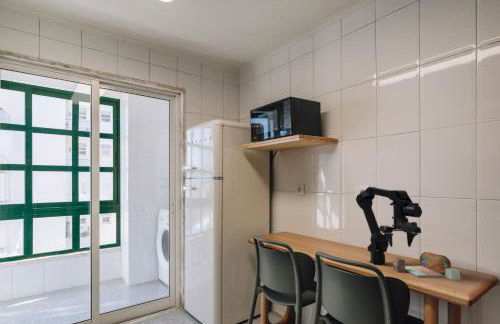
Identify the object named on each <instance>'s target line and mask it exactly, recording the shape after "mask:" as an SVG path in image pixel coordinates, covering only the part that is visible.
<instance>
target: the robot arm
mask: <svg viewBox="0 0 500 324" xmlns="http://www.w3.org/2000/svg"><path fill="white" fill-rule="evenodd" d="M376 196H378V197H379V196H380V197H383V198H384V197H385V198H387V199H389V201H392V202H391V203H389V206H390V207H391V206H392V207H393V209H392V211H393V215H392V216H391V219H392V220H393V224H392V226H390V225H380V226H379V224H378V222H377V219H376V216H375V213H374V210H373V200H374V199H375V197H376ZM355 202H356V203H357V206H358V207H359V208H360V209H361V210H362V211H363V215H364V217H365V220H366V224H367V225H368V228H369V232H370V234H371V235H370V238H369V239H370V244H369V245H368V246H367V247H366V248H367V251H368V252H370V260H369V263H371V264H373V265H379V266H380V265H381V266H382V265H385V266H386V265H387V263H386V254H385V253H387V250H388V248H389V246H390V247H391V248H392V247H393V236H394V233H393V232H403V233H405V234H406V240H407V241H406V243H407V247H408V248H411V246H412V244H413V241H414V238H416V236H419V234H422V229H421V227H420V226H418V223H417V222H416V221H411V222H409V217H410V218H421V217H422V214H423V210H422V207H421V206H420V205H419V203H418V202H413V200H412V199H411V197H410V196H409V194H408V192H407V191H406V190H405V189H403V190H400V189H399V190H398V189H395V190H393V189H384V188H379V187H376V186H368V187H367V188H366V189H364V190H363V191H361V192H360V193H358V194H357V195H356V197H355Z"/></svg>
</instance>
